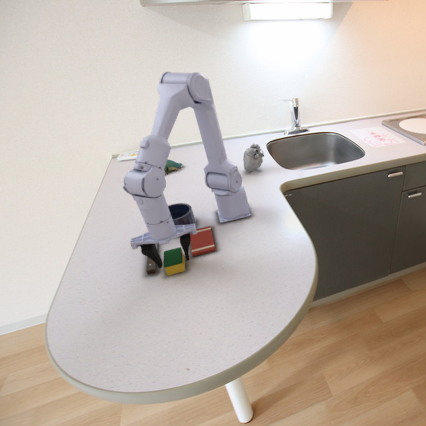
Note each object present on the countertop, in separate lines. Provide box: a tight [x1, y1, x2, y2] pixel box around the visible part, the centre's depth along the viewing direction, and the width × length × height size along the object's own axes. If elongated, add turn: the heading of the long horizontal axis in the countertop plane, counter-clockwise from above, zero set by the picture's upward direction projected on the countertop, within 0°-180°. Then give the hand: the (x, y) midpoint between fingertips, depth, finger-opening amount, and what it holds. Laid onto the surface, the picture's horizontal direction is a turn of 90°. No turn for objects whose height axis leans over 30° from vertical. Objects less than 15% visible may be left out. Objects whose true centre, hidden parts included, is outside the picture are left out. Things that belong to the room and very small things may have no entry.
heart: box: [242, 143, 265, 174], centre depth 126 cm, size 10×10×12 cm
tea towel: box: [190, 225, 216, 258], centre depth 89 cm, size 6×12×1 cm, turn 23°
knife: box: [145, 243, 159, 276], centre depth 85 cm, size 2×20×2 cm, turn 23°
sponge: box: [162, 246, 186, 277], centre depth 79 cm, size 4×6×3 cm
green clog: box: [164, 158, 184, 175], centre depth 130 cm, size 9×20×5 cm, turn 114°
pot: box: [168, 202, 197, 227], centre depth 94 cm, size 10×10×6 cm
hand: (174, 261), depth 80 cm, fingers open, 6 cm apart
